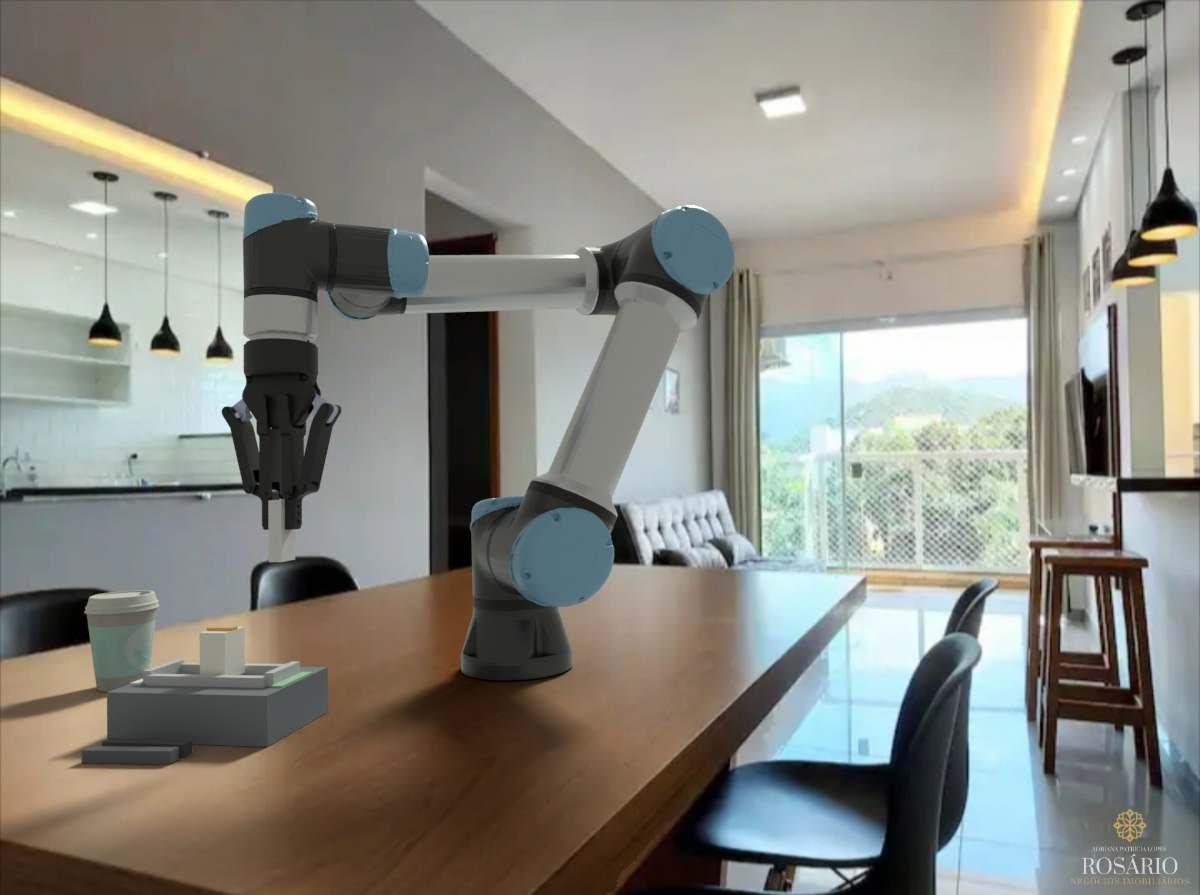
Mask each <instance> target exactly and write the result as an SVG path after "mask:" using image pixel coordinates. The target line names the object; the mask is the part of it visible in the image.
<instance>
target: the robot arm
mask: <svg viewBox="0 0 1200 895" xmlns="http://www.w3.org/2000/svg"><path fill="white" fill-rule="evenodd" d="M243 221H244V222H243V234H242V235H243V236H242V245H243V246H242V252H243V253H242V258H243V259H242V263H243V264H242V265H243V309H242V310H243V313H242V314H243V318H242V320H243V322H242V324H243V325H242V326H243V327H242V328H243V329H242V330H243V331H242V335H243V336H245V338H247V339H248V341H245V343H244V344H243V373H244V374H243V375H244V377H245V382H246V383H245V386H244V388H243V390H242V392H241V394H242V395H241V399H240V400H238V401H237V402H236V403H235V404H233V405H232V406H229V405H228V406H224V407H223V408H222V409H221V415H222V418H223V419H224V421H226V423H227V425H228V427H229V429H230V432H231V437H232V442H233V447H234V452H235V455H236V461H237V464H238V469H239V475H240V478H241V483H242V487H243V490H244V493H246V494H247V495H252V496H255V497H258V498H259V500H261V526H262V529H263V530H265V531H267V530H268V563H285V562H290V561H296V530H300V529H301V528H302V525H303V519H302V518H303V515H302V514H303V499H304V498H305V497H306V496H308V495H311V494H314V493H318V491H320V488H321V483H322V478H323V477H322V476H323V472H324V468H325V465H326V459H327V455H328V451H329V447H330V446H329V445H330V440H331V437H332V431H333V427H334V425H335V424H336V422H337V420H338V418H339V417H340V415H341V413H342V407H341V406H340V404H339V405H338V404H335V403H334V404H333V403H331V402H329V401H328V400H327V399H325V398H323V397H322V391H321V389H320V387H319V385H318V383H317V382H318V381H317V380H318V377H319V376H318V375H319V347H318V346H317V345H316V343H313V342H315V341H316V340H318V338H319V337H318V335H319V330H318V329H319V328H318V327H319V326H318V324H319V322H318V321H319V319H318V316H319V315H318V313H319V310H318V309H319V307H318V303H319V300H318V292H319V291H325V294H326V298H327V301H328V303H329V306H330V307H331V309H332V310H333V311H334V312H335V313H336V314H337V315H338V316H340V317H341V318H344V319H346V320H349V321H353V322H362V321H367V320H370V319H371V318H372V319H373V318H374V317H377V316H395V315H407V314H437V313H440V314H441V313H466V312H468V313H469V312H470V313H471V312H475V313H476V312H497V311H498V312H500V311H501V312H502V311H503V312H504V311H506V312H507V311H531V310H532V311H533V310H537V311H539V310H564V309H565V310H566V309H567V310H568V309H569V310H570V309H575V310H576V311H577V313H579V315H581V316H615V318H614V320H613V322H612V325H611V326H610V329H609V332H608V334H607V336H606V338H605V341H604V343H603V344H602V347H601V349H600V352H599V354H598V356H597V359H596V361H595V364H594V366H593V368H592V370H591V373H590V374H589V377H588V379H587V382H586V384H585V387H584V389H583V391H582V393H581V395H580V398H579V400H578V403H577V405H576V407H575V409H574V411H573V414H572V417H571V419H570V421H569V423H568V425H567V428H566V430H565V433H564V434H563V437H562V439H561V441H560V444H559V447H558V448H557V450H556V453H555V455H554V458H553V460H552V462H551V465H550V466H549V469H548V471H547V472H545V473H543V474H541V475H539V476H535V477H533V478H532V479H531V481H530V482H529V484H528V487H527V488H526V490H525V491H526V492H525V493H524V494H523V495H510V496H507V495H506V496H500V497H496V498H495V497H493V498H487V499H486V498H485V499H482V500H480V501H477V502H476V503H475V504H474V505H473V506H472V510H471V519H470V520H471V521H470V524H469V531H470V532H471V533H470V534H471V570H472V571H471V572H472V573H471V574H472V577H471V578H472V581H471V582H472V616H471V620H470V623H469V626H468V630H467V633H466V637H465V641H464V643H463V645H462V646H463V647H462V650H461V654H460V663H461V664H460V666H461V667H460V668H461V669H460V671H461V672H462V674H464V675H465V676H468V677H471V678H473V679H474V678H475V679H479V680H488V681H523V680H534V679H541V678H547V677H550V676H556V675H560V674H561V673H564V672H567V671H569V670H570V669H572V667H573V664H574V663H573V662H574V661H573V648H572V645H571V641H570V639H569V636H568V633H567V630H566V626H565V624H564V621H563V619H562V615H561V613H560V609H559V608H568V607H572V606H577V605H580V604H582V603H584V602H587V601H588V600H589V599H591V598H592V597H594V595H596V594H597V593H598V592H599V591H600V590H601V589H602V588H603V586H604V585H605V584H606V582H607V580H608V579H609V577H610V574H611V572H612V569H613V566H614V560H615V547H614V545H613V540H612V535H611V533H612V531H613V530H614V526H615V525H616V521H617V519H618V512H617V509H616V506H615V504H614V502H613V496H614V494H615V491H616V489H617V487H618V485H619V482H620V479H621V477H622V474H623V472H624V470H625V468H626V464H627V463H628V460H629V457H630V454H631V453H632V451H633V448H634V446H635V443H636V440H637V438H638V436H639V433H640V430H641V428H642V426H643V423H644V421H645V419H646V416H647V414H648V411H649V409H650V407H651V404H652V402H653V399H654V397H655V395H656V392H657V390H658V388H659V385H660V382H661V380H662V378H663V375H664V373H665V370H666V368H667V365H668V363H669V361H670V358H671V356H672V353H673V351H674V349H675V346H676V343H677V341H678V340H679V336H680V334H681V333H684V332H687V331H690V330H692V329H694V328H695V327H696V325H697V324H698V321H699V318H700V317H701V314H702V311H703V309H704V306H705V304H706V303H707V302H706V301H707V299H708V297H709V295H710V294H714V293H717V292H718V291H719V290H720V289H722V287H723V286H725V284H726V283H727V282H728V281H729V280H730V277H732V274H733V271H734V268H735V267H734V266H735V259H736V258H735V257H736V256H735V248H734V245H733V242H732V241H731V238H730V236H729V234H730V233H729V232H728V230H727V228H726V227H725V225H724V224H723V223H722V221H721V220H720V219H719V218H718V217H717V216H716V215H714V214H713V213H711V212H710V211H709V210H707V209H705V208H702V207H700V206H696V205H680V206H677V207H674V208H672V209H669V210H666V211H663V212H661V213H660V214H659V215H657V217H656V218H655V219H654V220H652V221H650V222H649V223H647V224H645V225H643V226H642V227H640V228H639V229H637V230H635V231H634V232H632V233H631V234H629V235H628V236H625V237H624V238H622V239H619V240H617V241H614V242H611V243H609V244H606V245H600V246H592V247H591V246H583V247H579V248H578V249H577V250H576V251H575V252H574V254H468V255H467V254H459V255H458V254H457V255H456V254H450V255H449V254H445V255H444V254H443V255H442V254H441V255H440V254H438V255H435V254H433V255H431V254H429V246H428V242H427V240H426V239H425V237H424V236H423V235H422V234H421V233H418V232H412V231H409V230H402V229H398V228H396V227H393V228H385V227H384V228H382V227H375V226H374V227H373V226H363V225H354V224H346V223H345V224H342V223H335V222H334V223H333V222H328V221H323V220H320V216H319V215H318V208H317V206H316V205H315V203H314V202H312V201H311V200H309V199H308V198H306V197H302V196H301V197H300V196H295V195H294V194H290V193H284V192H282V193H281V192H268V193H266V192H265V193H261V194H257V195H255V196H253V197H251V198H250V199H249V200H248V201H247V202H246V205H245V207H244V216H243ZM311 414H312V415H313V417H312V420H311V423H310V427H309V432H308V436H307V440H306V445H305V442H304V441H305V439H304V438H305V436H306V434H307V421H308V419H309V417H310V415H311ZM253 417H254V419H255V420H256V427H255V429H256V432H255V429H254V425H253V423H252V421H251V420H253ZM256 434H257V436H258V438H259V439H258V440H259V441H258V442H257V436H256ZM258 443H259V444H258ZM258 445H259V446H258Z"/></svg>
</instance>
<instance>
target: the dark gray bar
mask: <svg viewBox="0 0 1200 895" xmlns="http://www.w3.org/2000/svg"><path fill="white" fill-rule="evenodd" d="M179 760H180V757H179V747H124V746H102V745H100V746H98V745H97V746H96V745H95V746H94V745H93V746H92V745H90V746H88V747H86V748H84V749H82V750H81V764H114V765H115V764H116V765H117V764H119V765H120V764H122V765H123V764H124V765H130V764H132V765H134V764H135V765H172V764H174V763H176V762H177V761H179Z"/></svg>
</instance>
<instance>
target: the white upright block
mask: <svg viewBox="0 0 1200 895" xmlns="http://www.w3.org/2000/svg"><path fill="white" fill-rule="evenodd" d="M245 658H246V657H245V627H244V626H236V625H234V626H233V625H231V626H230V625H229V626H228V625H224V626H223V625H221V626H220V625H212V626H211V625H210V626H209V627H206V630H204V631H201V632H199V663H200V674H204V675H240V674H243V673H245V661H246V660H245Z"/></svg>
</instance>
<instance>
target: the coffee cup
mask: <svg viewBox="0 0 1200 895" xmlns="http://www.w3.org/2000/svg"><path fill="white" fill-rule="evenodd" d="M158 607H160V604H159V599H157V595H156V593H155V590H154V591H153V590H144V589H143V590H142V589H141V590H122V591H112V592H111V591H110V592H104V593H98V594H94V595H91V596H89V597H88V601H87V604H86V606H85V607H84V609H85V610H84V612H83V614H85V615H86V618H87V627H88V628H87V629H88V633H89V642H90V648H91V650H90V651H91V656H92V663H93V671H94V677H95V678H94V679H95V685H96V690H97V691H99V692H102V693H107V692H109V691H112V690H115V689H118V688H121V687H124V686H126V685H129V684H130V683H131V682H134V681H137V680H140V679H143V671H144V670H147V669H150V668H151V663H152V653H153V644H154V636H155V626H156V620H157V619H156V618H157V610H158Z"/></svg>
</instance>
